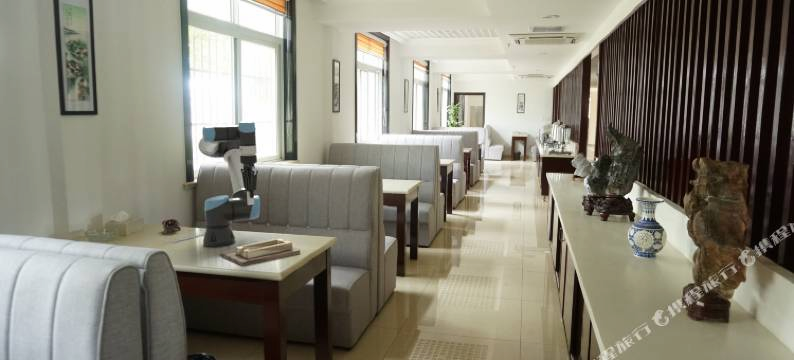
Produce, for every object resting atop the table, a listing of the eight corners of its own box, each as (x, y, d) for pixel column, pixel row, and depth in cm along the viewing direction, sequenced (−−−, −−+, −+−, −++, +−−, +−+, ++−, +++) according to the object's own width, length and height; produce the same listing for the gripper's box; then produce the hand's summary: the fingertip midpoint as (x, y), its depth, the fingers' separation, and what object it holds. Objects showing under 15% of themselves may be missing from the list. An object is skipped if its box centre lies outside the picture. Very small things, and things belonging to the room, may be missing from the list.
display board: (219, 255, 251) (219, 251, 251) (274, 244, 269) (274, 240, 269) (242, 266, 233) (242, 262, 233) (300, 253, 251) (300, 250, 251)
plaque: (204, 231, 303) (204, 230, 303) (216, 233, 298) (216, 232, 298) (151, 244, 275) (151, 243, 275) (163, 247, 270) (163, 245, 270)
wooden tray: (235, 253, 247) (235, 246, 246) (278, 244, 261) (278, 237, 261) (248, 258, 238) (248, 250, 237) (292, 248, 252) (292, 241, 252)
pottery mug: (186, 231, 305) (182, 220, 300) (173, 241, 298) (170, 230, 293) (169, 224, 309) (165, 213, 303) (156, 234, 302) (153, 223, 297)
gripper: (234, 154, 259) (237, 203, 263) (247, 156, 249) (250, 207, 253) (249, 153, 264) (251, 201, 268) (262, 155, 254) (264, 205, 258)
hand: (251, 204), depth 260 cm, fingers closed
